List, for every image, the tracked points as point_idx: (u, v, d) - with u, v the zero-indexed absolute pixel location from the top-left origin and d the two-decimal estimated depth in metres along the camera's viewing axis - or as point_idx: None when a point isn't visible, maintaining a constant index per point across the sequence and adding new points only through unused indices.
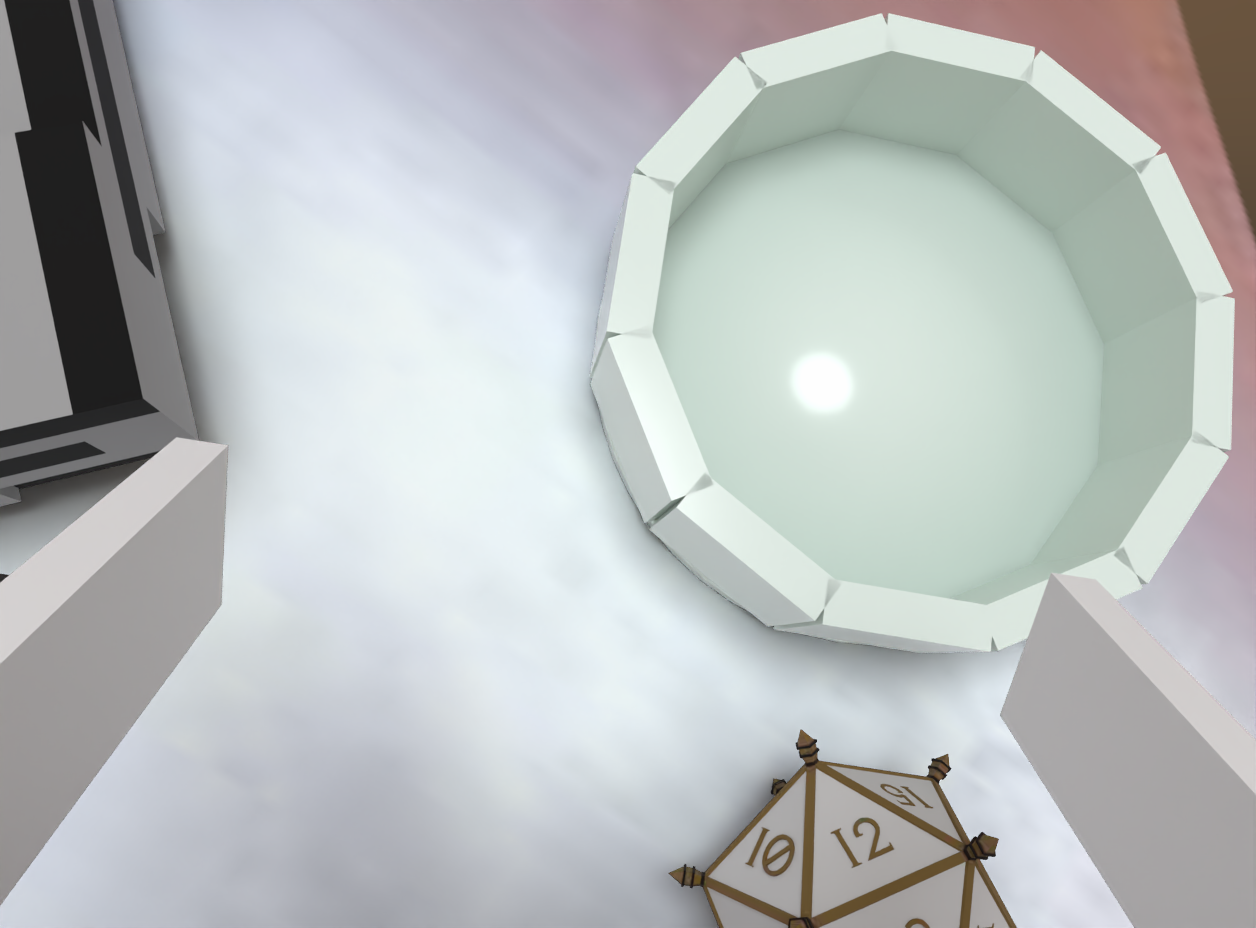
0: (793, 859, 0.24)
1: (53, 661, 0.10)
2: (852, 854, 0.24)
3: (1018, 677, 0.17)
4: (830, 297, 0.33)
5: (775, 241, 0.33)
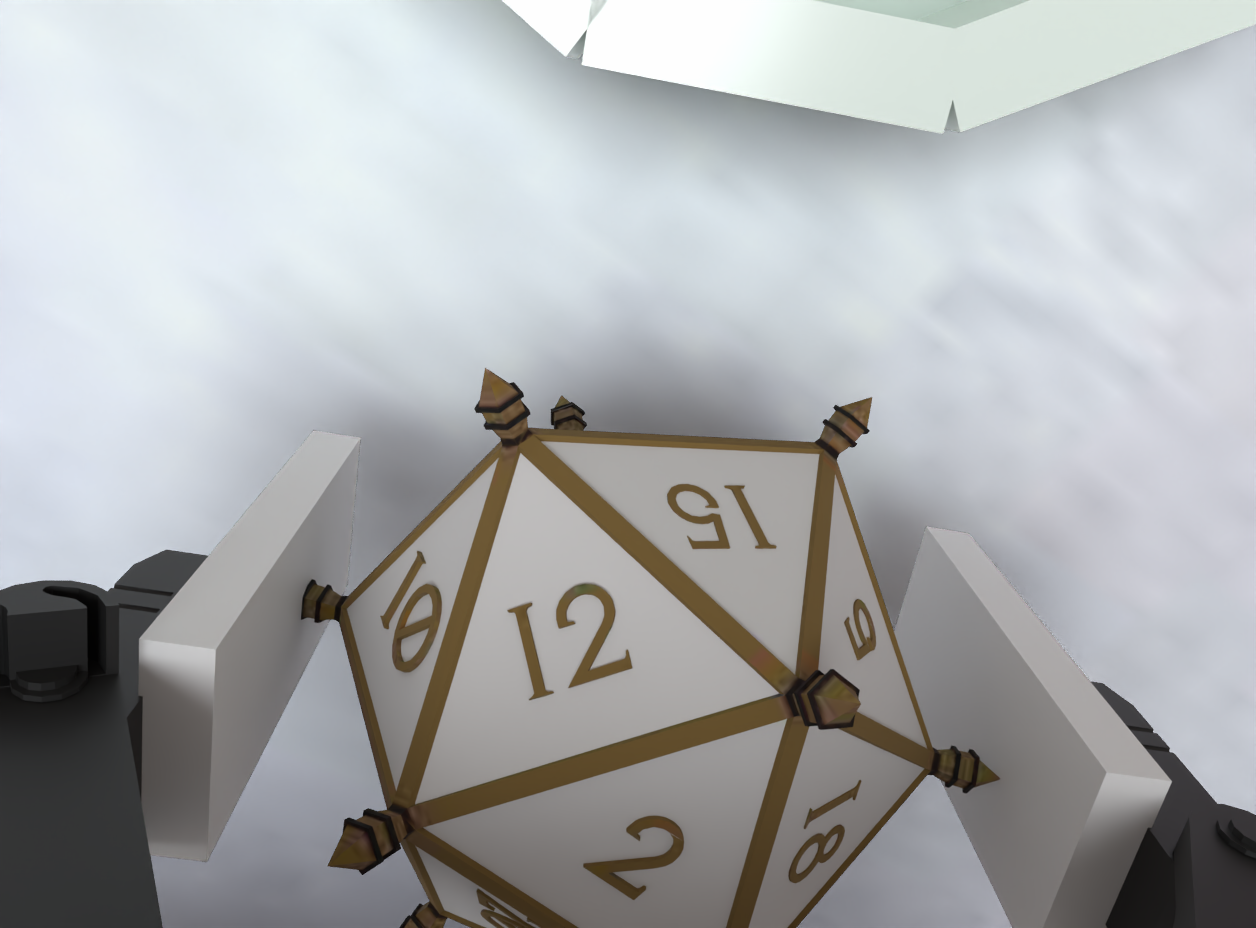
0: (431, 649, 0.11)
1: (257, 628, 0.12)
2: (541, 668, 0.11)
3: (899, 626, 0.17)
4: None
5: None
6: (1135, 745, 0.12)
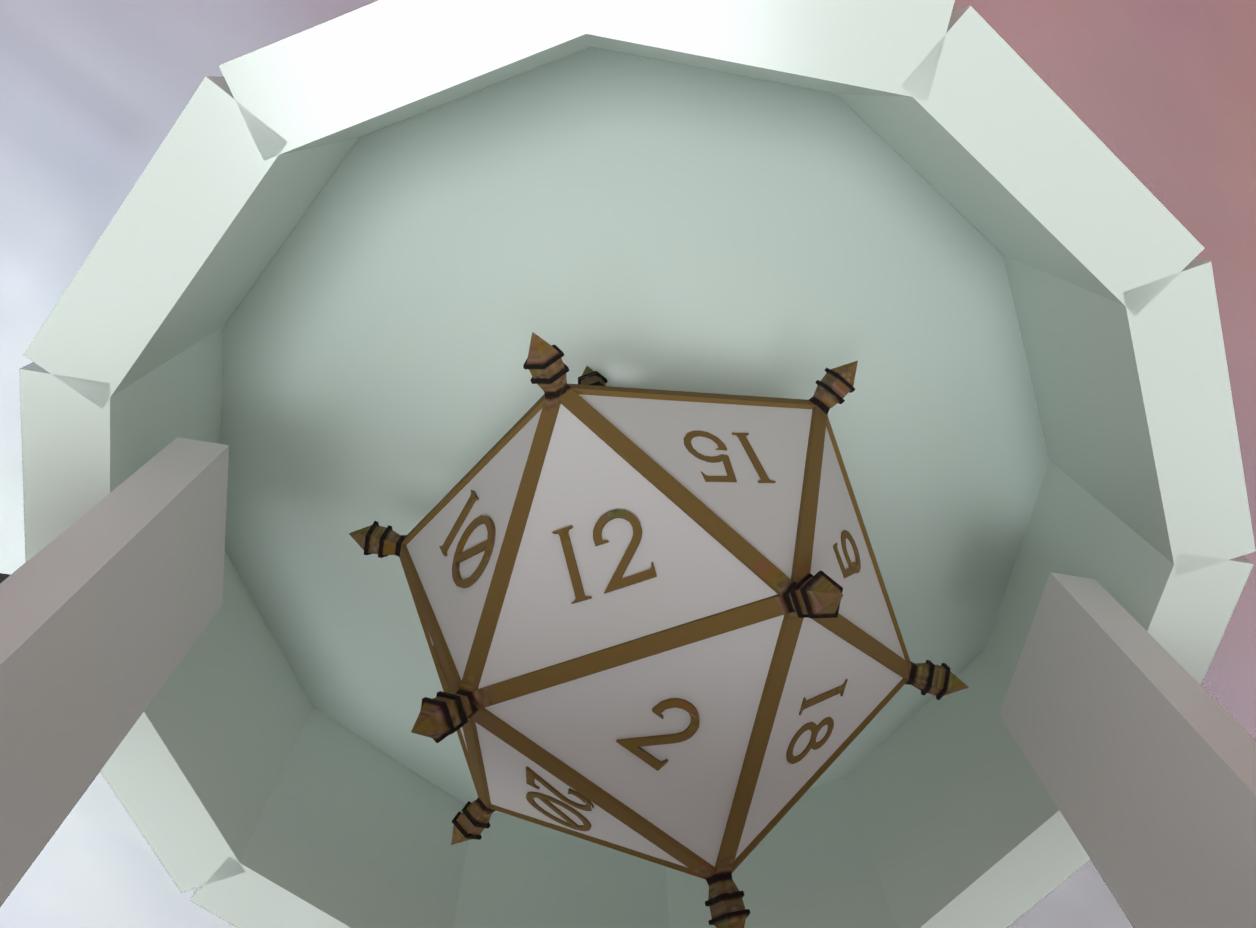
0: (487, 566, 0.13)
1: (54, 661, 0.10)
2: (580, 577, 0.13)
3: (1018, 676, 0.17)
4: None
5: (458, 293, 0.18)
6: None
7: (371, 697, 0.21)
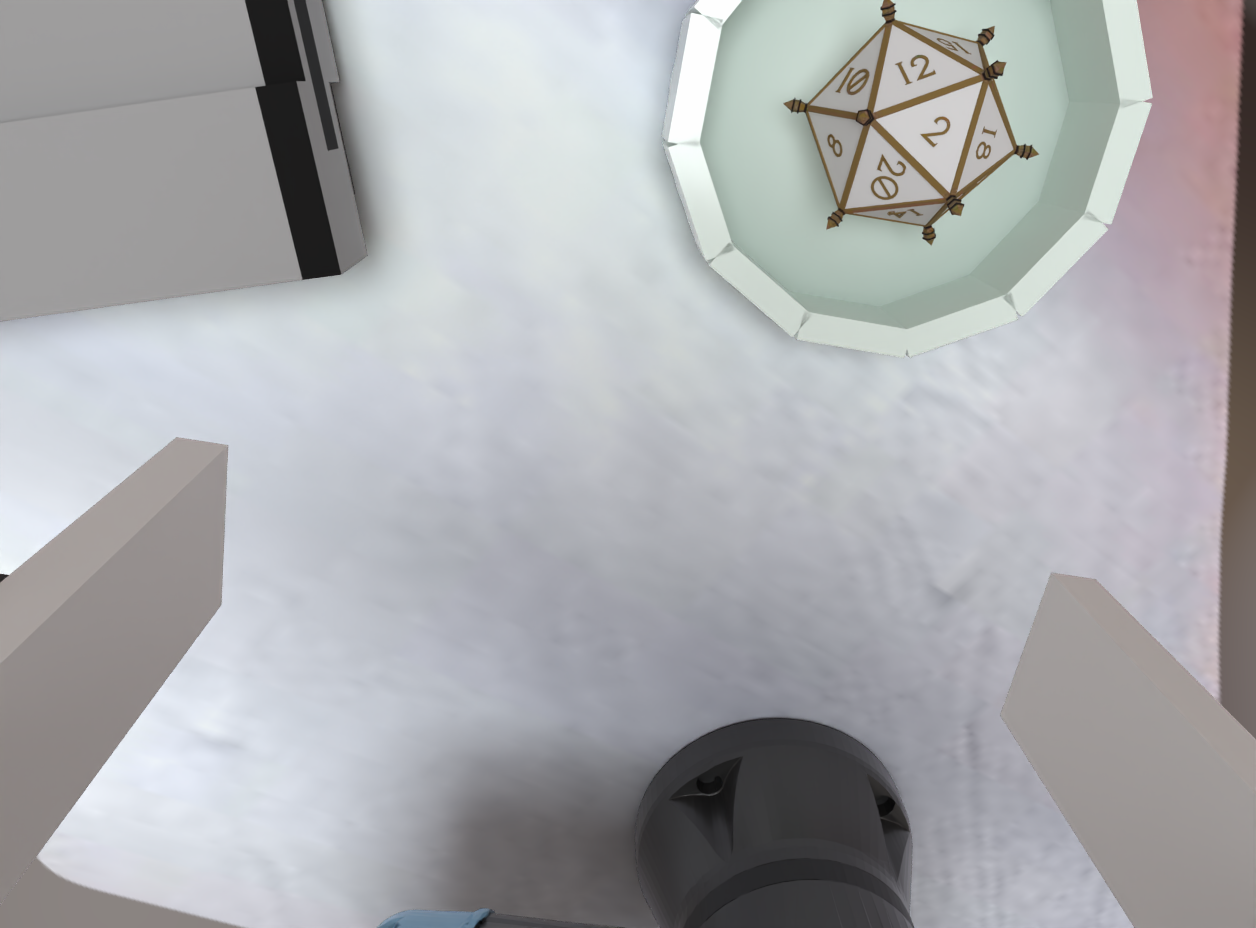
0: (867, 82, 0.37)
1: (53, 661, 0.10)
2: (906, 77, 0.36)
3: (1019, 677, 0.17)
4: None
5: (812, 17, 0.41)
6: None
7: (748, 225, 0.44)
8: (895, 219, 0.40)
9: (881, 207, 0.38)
